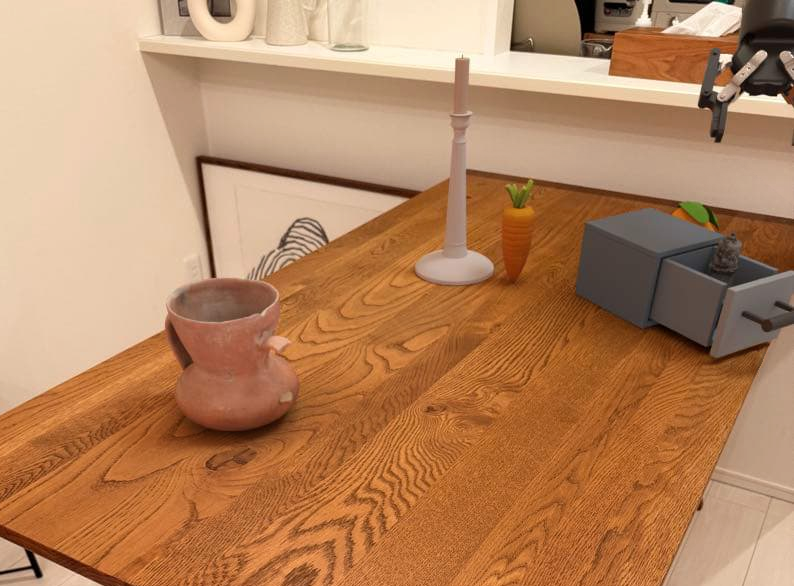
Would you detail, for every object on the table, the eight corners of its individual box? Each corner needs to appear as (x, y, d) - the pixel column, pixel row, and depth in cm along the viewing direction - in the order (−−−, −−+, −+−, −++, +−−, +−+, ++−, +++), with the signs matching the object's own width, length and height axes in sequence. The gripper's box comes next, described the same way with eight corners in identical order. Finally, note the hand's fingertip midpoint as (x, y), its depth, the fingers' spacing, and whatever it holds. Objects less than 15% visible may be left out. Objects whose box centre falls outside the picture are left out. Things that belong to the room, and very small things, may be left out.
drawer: (808, 352, 99) (832, 285, 93) (746, 373, 95) (767, 305, 89) (701, 302, 111) (716, 241, 105) (642, 319, 107) (655, 256, 101)
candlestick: (505, 263, 126) (522, 50, 107) (475, 290, 118) (488, 64, 98) (435, 251, 131) (439, 45, 112) (401, 277, 123) (400, 58, 103)
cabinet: (706, 309, 111) (726, 235, 104) (641, 329, 107) (657, 252, 100) (636, 276, 121) (650, 207, 114) (574, 293, 117) (584, 221, 110)
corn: (709, 189, 130) (744, 229, 115) (701, 235, 135) (733, 278, 119) (664, 193, 130) (692, 232, 115) (658, 238, 135) (684, 281, 120)
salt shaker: (678, 314, 105) (699, 225, 98) (715, 308, 107) (739, 220, 99) (704, 332, 101) (728, 240, 93) (741, 326, 102) (769, 234, 95)
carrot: (493, 285, 119) (500, 183, 110) (501, 273, 123) (509, 174, 113) (524, 289, 118) (534, 186, 108) (531, 277, 121) (542, 177, 112)
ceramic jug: (334, 404, 92) (325, 290, 83) (253, 462, 83) (233, 340, 74) (225, 366, 100) (207, 258, 91) (140, 415, 91) (110, 300, 82)
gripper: (720, -17, 87) (699, 118, 86) (856, -17, 84) (836, 122, 83) (706, 32, 95) (687, 156, 94) (831, 33, 92) (813, 162, 91)
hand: (757, 140), depth 88 cm, fingers open, 8 cm apart
